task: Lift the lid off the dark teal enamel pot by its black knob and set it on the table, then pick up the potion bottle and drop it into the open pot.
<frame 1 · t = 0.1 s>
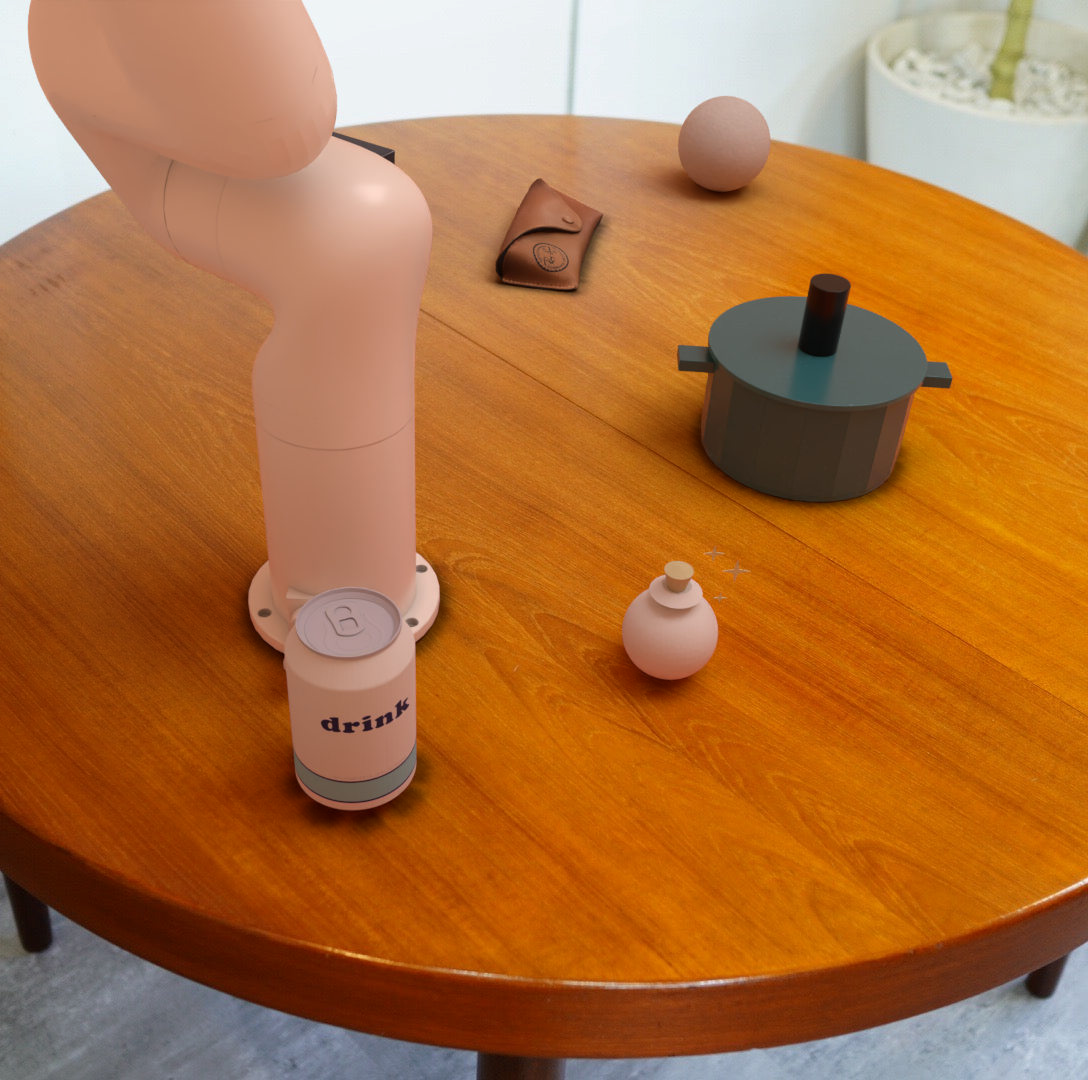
ball: (717, 189, 147), on the table
small box: (338, 249, 130), on the table
beverage can: (356, 778, 77), on the table
potion bottle: (674, 668, 85), on the table
pot: (797, 444, 107), on the table
sunglasses case: (551, 250, 133), on the table
lid: (816, 353, 101), point 8 cm above the table, touching pot
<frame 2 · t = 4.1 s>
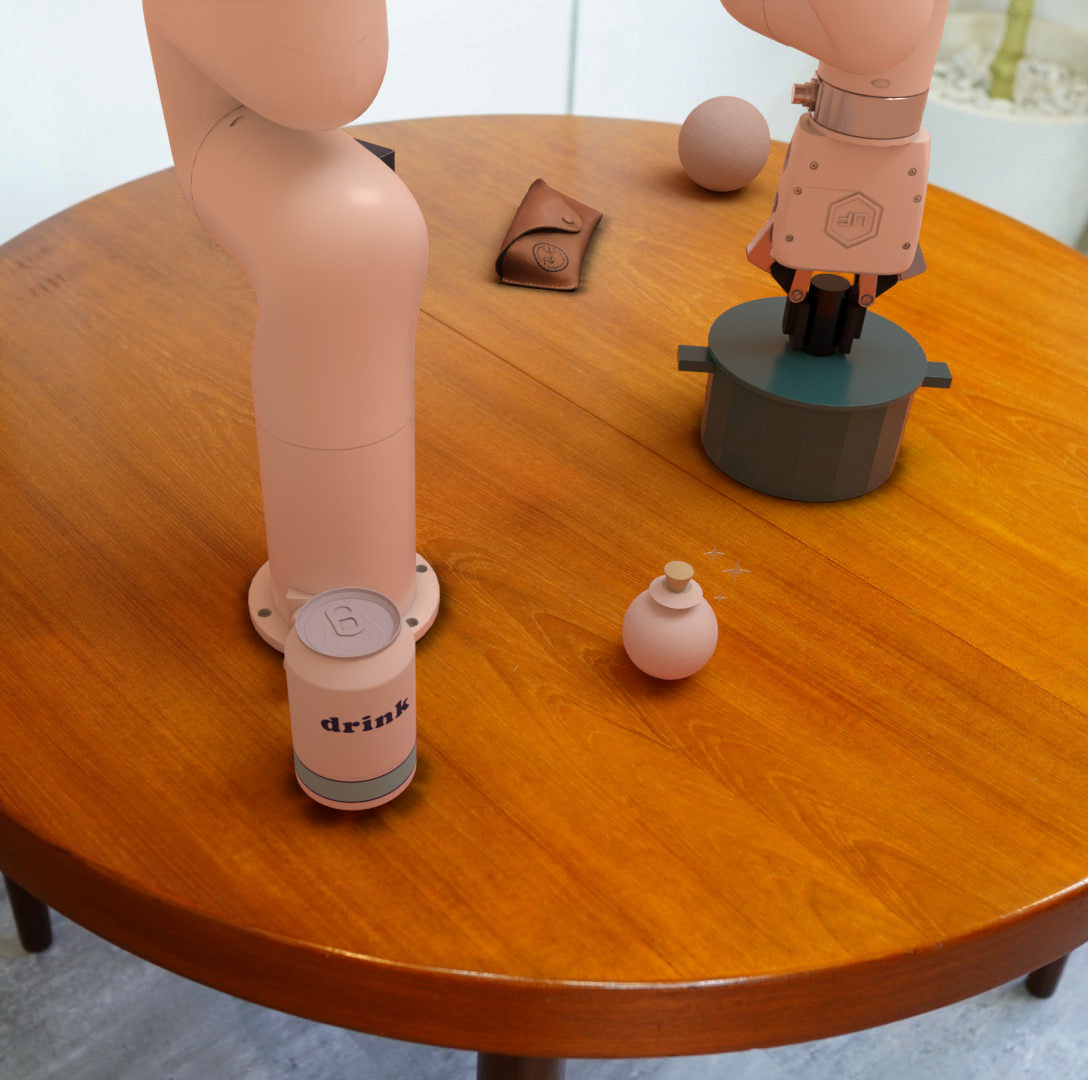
hand: (818, 341, 101), 10 cm above the table, tool pointing down, fingers closed on lid, 3 cm apart
lid: (816, 353, 101), point 9 cm above the table, touching gripper, pot
everything else where it was.
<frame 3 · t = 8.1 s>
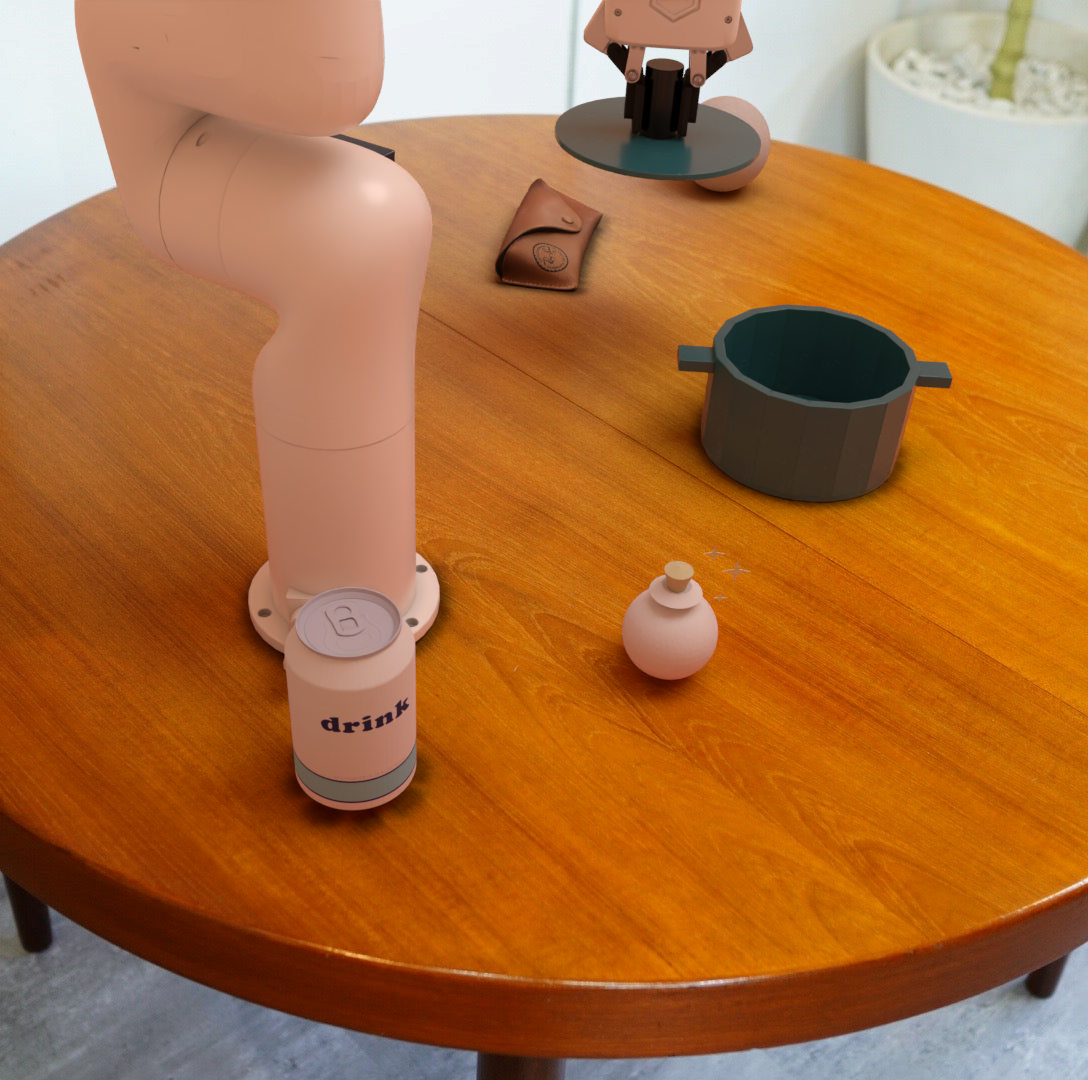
hand: (658, 126, 106), 20 cm above the table, tool pointing down, fingers closed on lid, 3 cm apart
lid: (657, 138, 107), point 19 cm above the table, touching gripper
everything else where it was.
when the fingers open (2 cm above the table, at t = 12.2 s): lid stays where it is, point 1 cm above the table.
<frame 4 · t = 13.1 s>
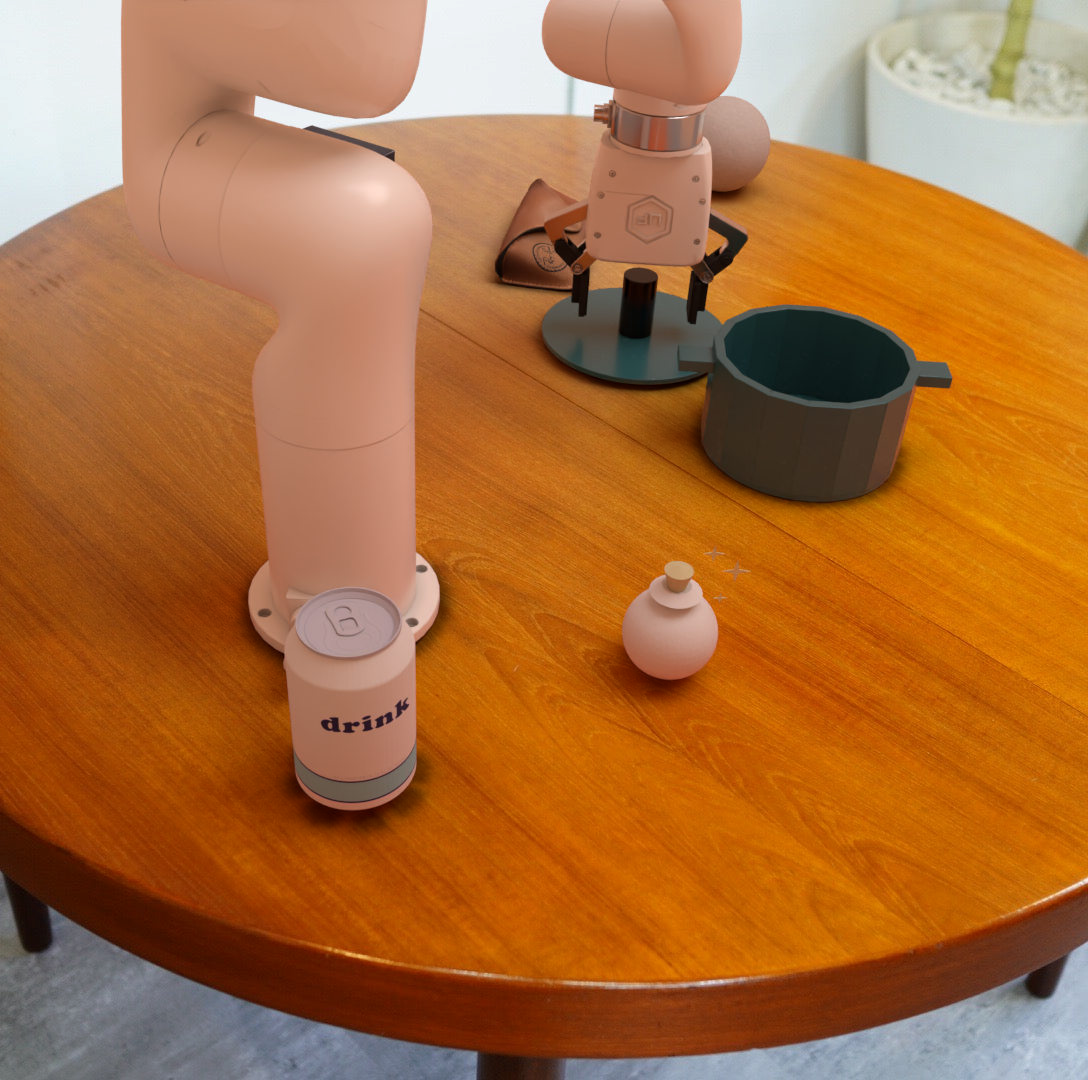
hand: (636, 313, 116), 3 cm above the table, tool pointing down, fingers open, 9 cm apart
lid: (634, 335, 118), point 1 cm above the table
everything else where it was.
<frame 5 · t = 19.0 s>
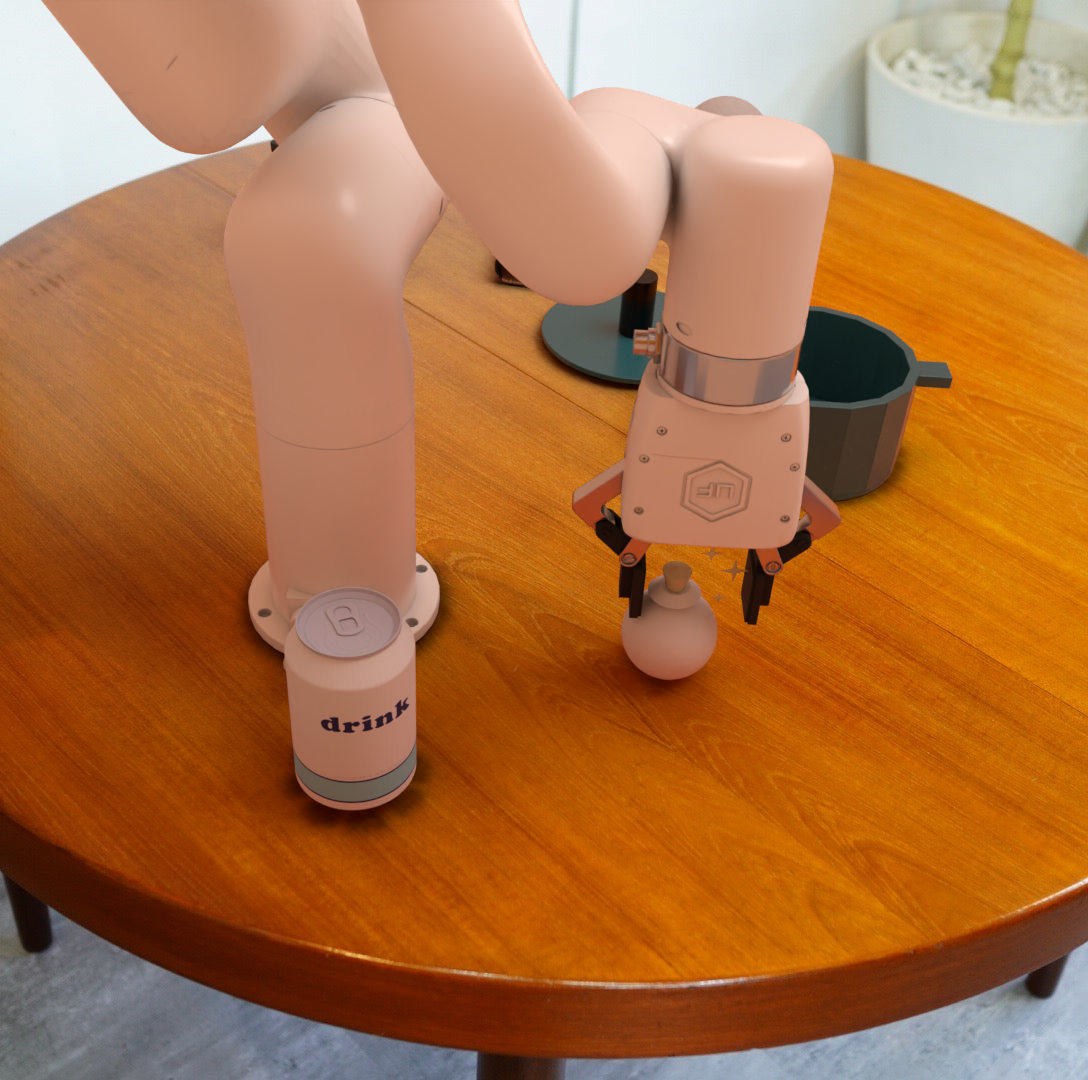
hand: (691, 605, 82), 5 cm above the table, tool pointing down, fingers closed on potion bottle, 6 cm apart
potion bottle: (675, 668, 85), on the table, touching gripper
everything else where it was.
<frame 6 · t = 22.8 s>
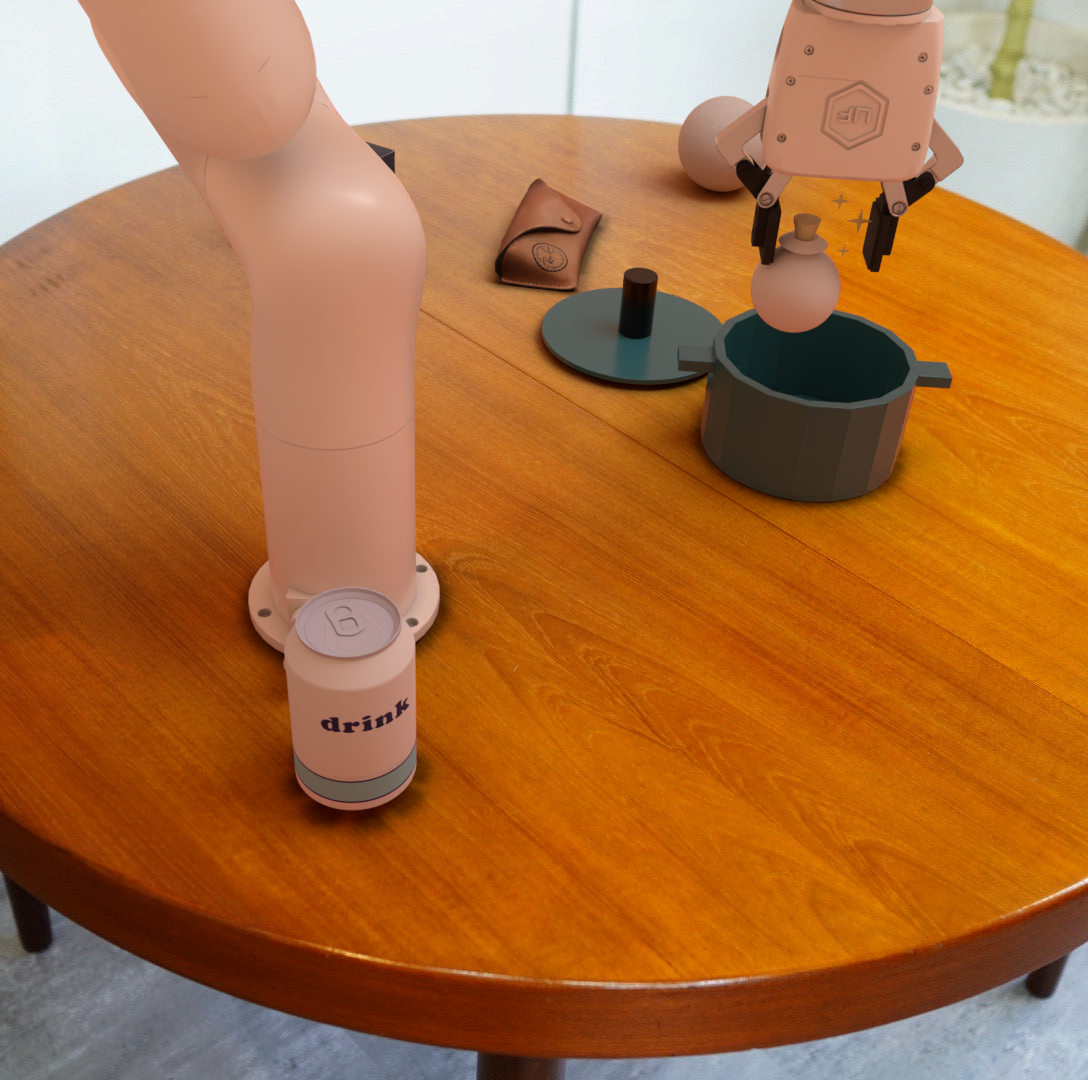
hand: (818, 257, 89), 20 cm above the table, tool pointing down, fingers closed on potion bottle, 6 cm apart
potion bottle: (797, 329, 92), point 14 cm above the table, touching gripper
everything else where it was.
when the fingers open (7 cm above the table, at t = 27.0 s): potion bottle drops 2 cm, resting on pot.
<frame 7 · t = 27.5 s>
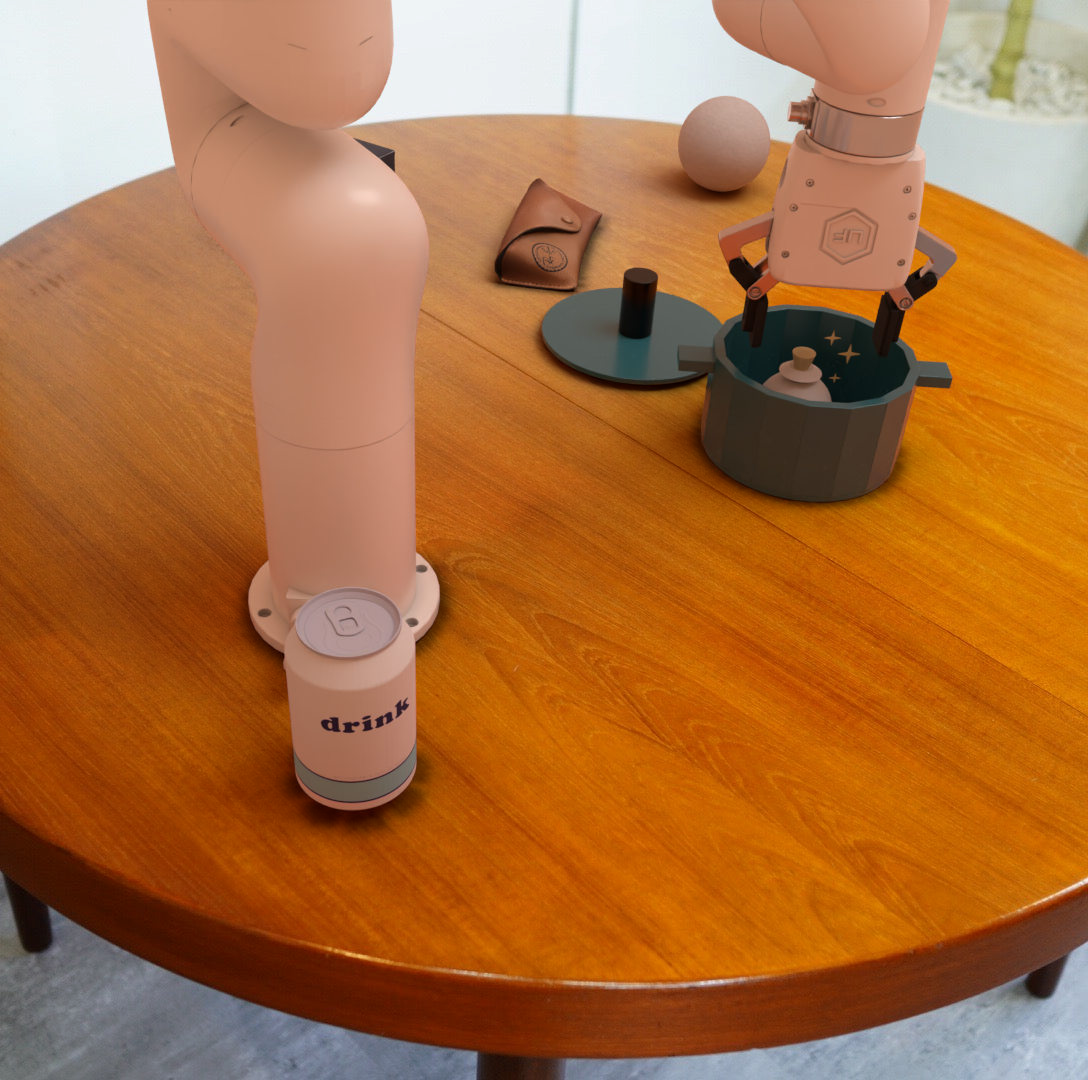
hand: (816, 343, 101), 9 cm above the table, tool pointing down, fingers open, 9 cm apart
potion bottle: (794, 442, 106), resting on pot
everything else where it was.
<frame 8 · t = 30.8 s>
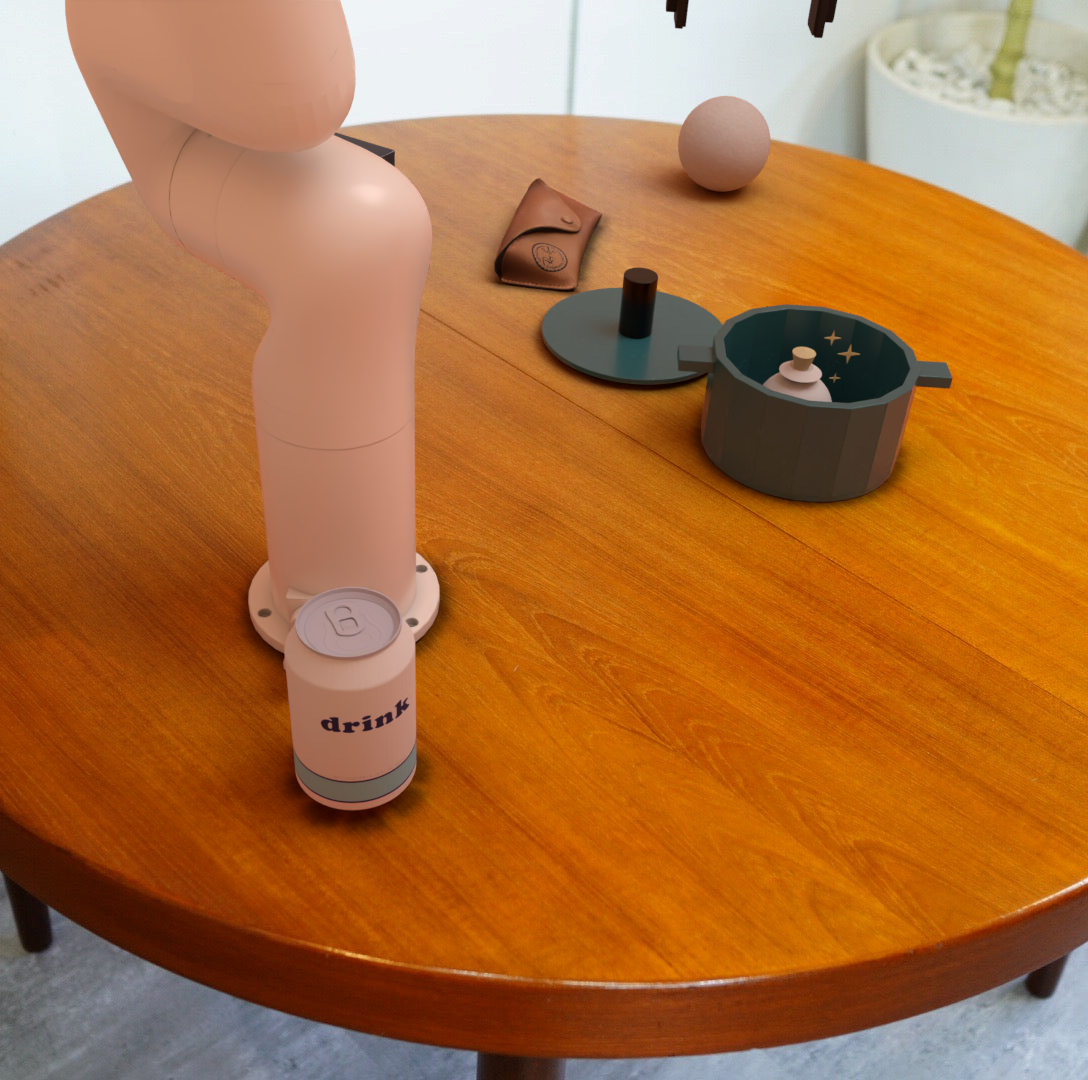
hand: (746, 27, 93), 30 cm above the table, tool pointing down, fingers open, 9 cm apart
nothing on the table moved.
at the end: lid inside the target area (0.1 cm from its centre), point 0.6 cm above the table; potion bottle inside the target area in the pot (0.2 cm from its centre), point 0.3 cm above the pot's base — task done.
